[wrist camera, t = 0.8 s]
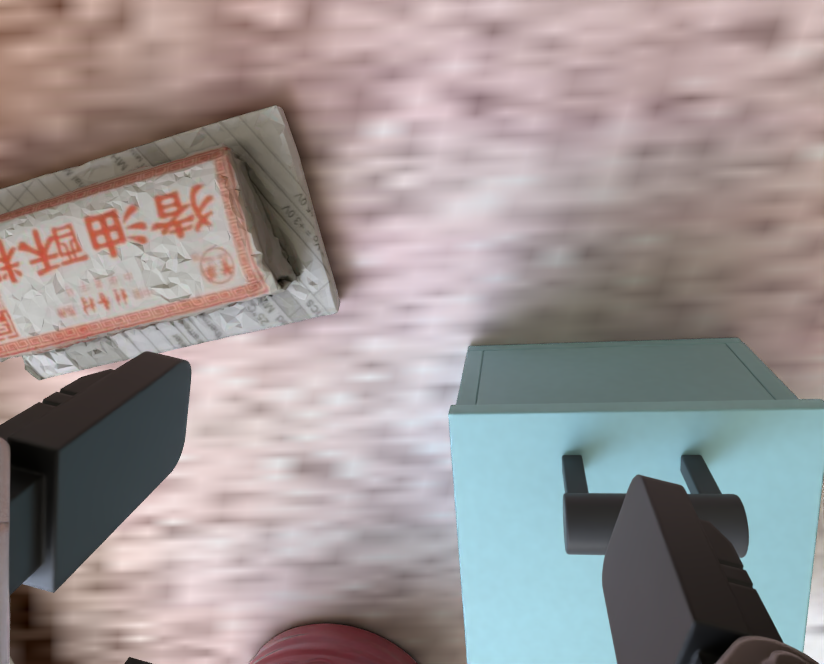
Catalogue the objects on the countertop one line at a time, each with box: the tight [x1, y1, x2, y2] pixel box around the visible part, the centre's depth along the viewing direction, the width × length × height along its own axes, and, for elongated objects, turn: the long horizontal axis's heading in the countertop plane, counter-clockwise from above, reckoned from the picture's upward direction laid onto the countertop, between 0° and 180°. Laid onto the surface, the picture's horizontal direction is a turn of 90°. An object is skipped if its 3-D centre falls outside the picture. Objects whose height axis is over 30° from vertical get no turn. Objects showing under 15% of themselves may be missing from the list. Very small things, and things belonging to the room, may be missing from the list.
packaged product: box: [0, 105, 340, 380], centre depth 32 cm, size 18×5×10 cm
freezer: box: [456, 338, 798, 405], centre depth 30 cm, size 16×13×9 cm
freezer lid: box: [448, 399, 824, 664], centre depth 23 cm, size 16×13×5 cm
